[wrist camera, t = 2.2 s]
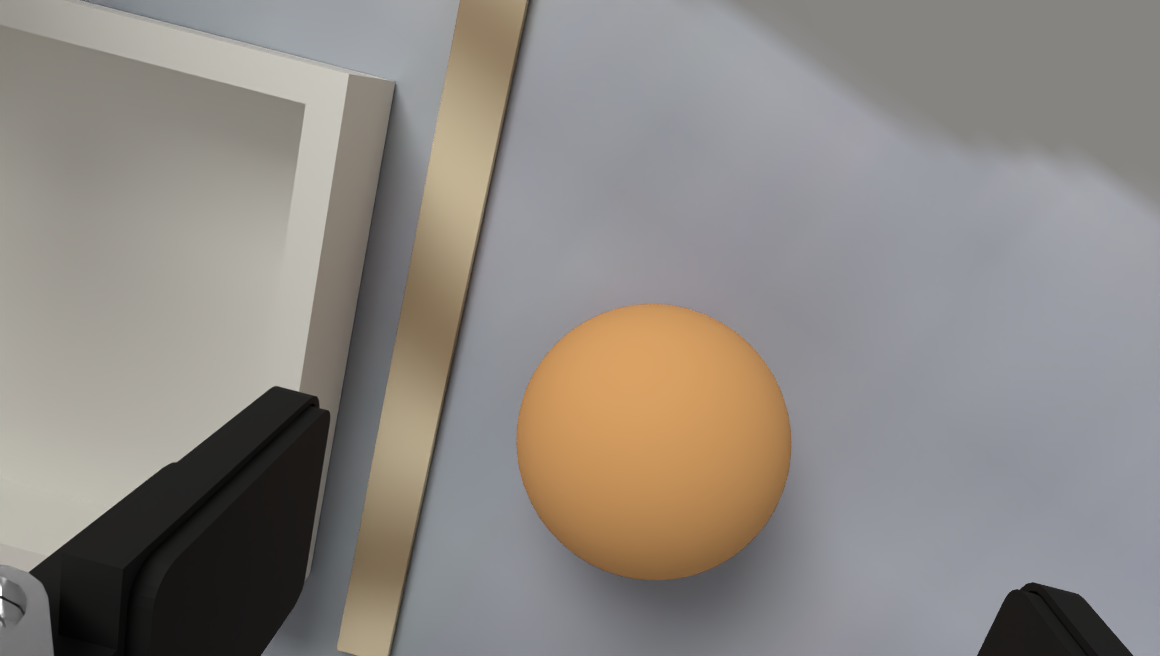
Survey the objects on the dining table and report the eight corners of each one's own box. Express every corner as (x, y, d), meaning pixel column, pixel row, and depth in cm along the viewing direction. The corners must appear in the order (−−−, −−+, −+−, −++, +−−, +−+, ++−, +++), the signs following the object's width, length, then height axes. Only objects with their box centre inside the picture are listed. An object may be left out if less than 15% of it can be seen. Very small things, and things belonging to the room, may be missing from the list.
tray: (309, 574, 22) (259, 641, 20) (-85, 467, 23) (-192, 518, 20) (395, 81, 19) (349, 74, 16) (-79, -41, 19) (-209, -71, 16)
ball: (730, 523, 21) (760, 676, 15) (514, 465, 21) (463, 595, 15) (800, 314, 19) (864, 396, 14) (566, 253, 19) (531, 308, 14)
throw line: (389, 656, 23) (386, 663, 23) (340, 643, 23) (336, 649, 23) (543, -69, 18) (541, -72, 17) (479, -85, 18) (476, -88, 17)
